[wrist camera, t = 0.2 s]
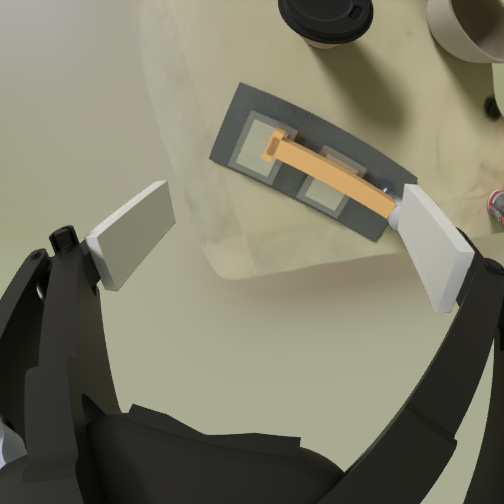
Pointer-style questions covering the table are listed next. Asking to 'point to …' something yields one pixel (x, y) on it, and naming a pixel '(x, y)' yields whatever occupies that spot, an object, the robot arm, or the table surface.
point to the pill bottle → (497, 205)
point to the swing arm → (333, 176)
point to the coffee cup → (327, 20)
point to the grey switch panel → (315, 139)
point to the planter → (468, 28)
